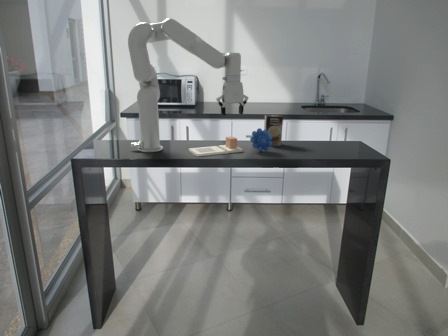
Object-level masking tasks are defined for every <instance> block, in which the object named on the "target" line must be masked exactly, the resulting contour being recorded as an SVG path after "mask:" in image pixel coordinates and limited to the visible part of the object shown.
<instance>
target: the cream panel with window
mask: <svg viewBox="0 0 448 336" xmlns="http://www.w3.org/2000/svg"><path fill="white" fill-rule="evenodd" d="M188 152H189V153H192V154H193V155H194V156H196V157H207V156H217V155H225V154H226V155H227V154H229V153H228V151H226V150H225V149H223V148H221V147H219V145H212V146H204V147H203V146H201V147H192V148H191V147H190V148H188Z"/></svg>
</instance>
